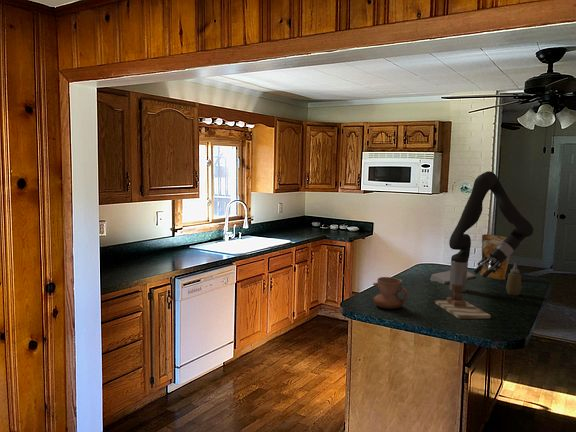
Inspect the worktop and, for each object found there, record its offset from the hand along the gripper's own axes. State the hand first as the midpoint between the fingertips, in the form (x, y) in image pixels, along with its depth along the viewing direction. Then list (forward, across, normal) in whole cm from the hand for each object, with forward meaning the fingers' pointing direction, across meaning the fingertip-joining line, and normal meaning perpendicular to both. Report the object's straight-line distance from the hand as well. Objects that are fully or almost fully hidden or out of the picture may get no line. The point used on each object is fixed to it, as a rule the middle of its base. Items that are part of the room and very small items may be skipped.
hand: (479, 274), depth 252 cm
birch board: (+20, +6, +4) cm, 21 cm away
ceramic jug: (+45, -1, -21) cm, 50 cm away
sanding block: (+19, 0, +3) cm, 19 cm away
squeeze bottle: (-13, -24, +37) cm, 46 cm away
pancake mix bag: (-22, -66, +46) cm, 83 cm away
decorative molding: (0, -61, +25) cm, 66 cm away
